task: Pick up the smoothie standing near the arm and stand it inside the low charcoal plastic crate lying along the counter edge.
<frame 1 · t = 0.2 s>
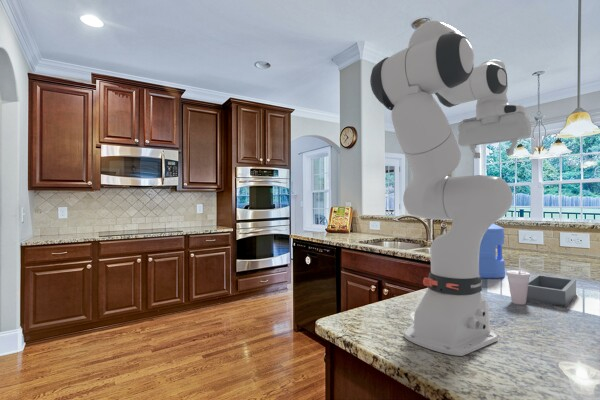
hand: (492, 156, 101), 47 cm above the countertop, fingers open, 8 cm apart
water jug: (484, 275, 138), on the countertop
crate: (549, 297, 105), on the countertop
smoothie: (518, 303, 100), on the countertop
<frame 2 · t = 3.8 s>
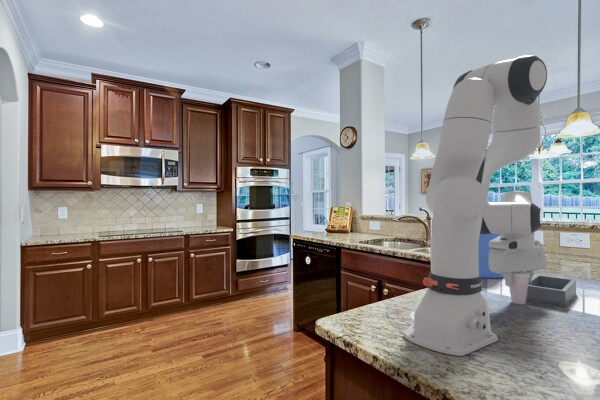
hand: (518, 285, 100), 6 cm above the countertop, fingers closed on smoothie, 6 cm apart
smoothie: (518, 303, 100), on the countertop, touching gripper
everything else where it was.
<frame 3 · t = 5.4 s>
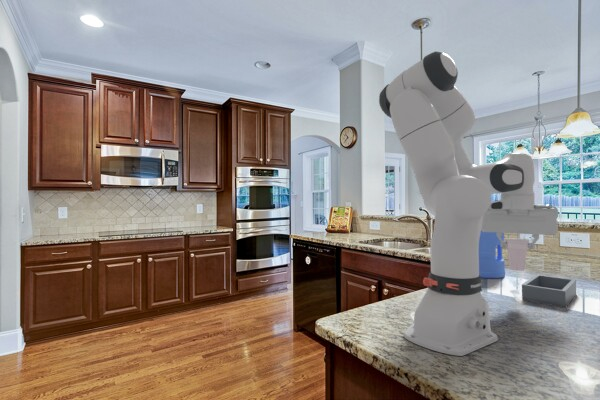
hand: (517, 247, 100), 18 cm above the countertop, fingers closed on smoothie, 6 cm apart
smoothie: (516, 270, 99), point 10 cm above the countertop, touching gripper
everything else where it was.
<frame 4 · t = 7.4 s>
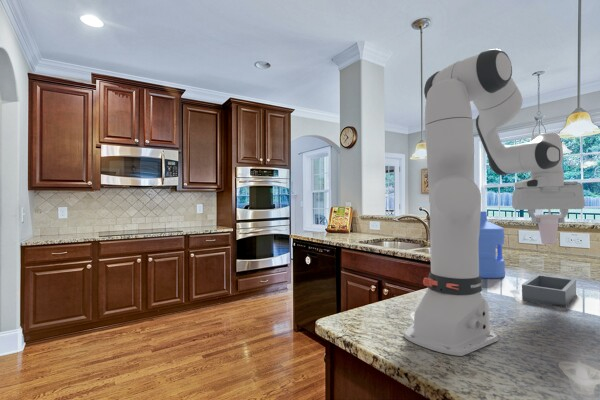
hand: (547, 223, 105), 25 cm above the countertop, fingers closed on smoothie, 6 cm apart
smoothie: (548, 244, 105), point 18 cm above the countertop, touching gripper
everything else where it was.
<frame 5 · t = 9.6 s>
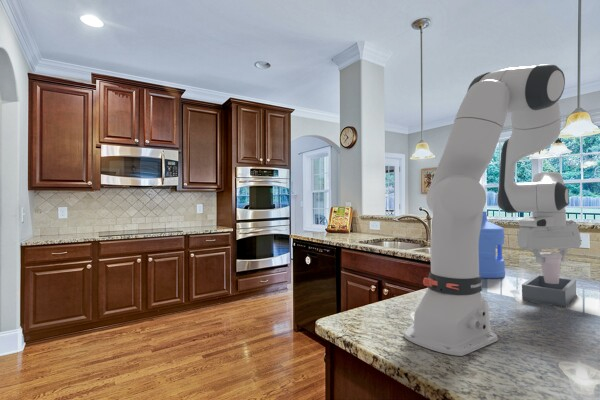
hand: (550, 261, 105), 12 cm above the countertop, fingers closed on smoothie, 6 cm apart
smoothie: (551, 283, 104), point 5 cm above the countertop, touching gripper
everything else where it was.
when the fingers open (7 cm above the countertop, at t = 11.2 s): smoothie stays where it is, resting on crate.
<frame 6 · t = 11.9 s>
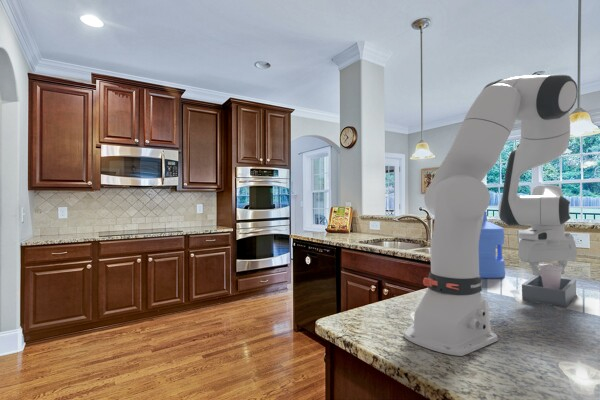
hand: (548, 274, 105), 8 cm above the countertop, fingers open, 8 cm apart
smoothie: (551, 295, 104), point 1 cm above the countertop, touching crate
everything else where it was.
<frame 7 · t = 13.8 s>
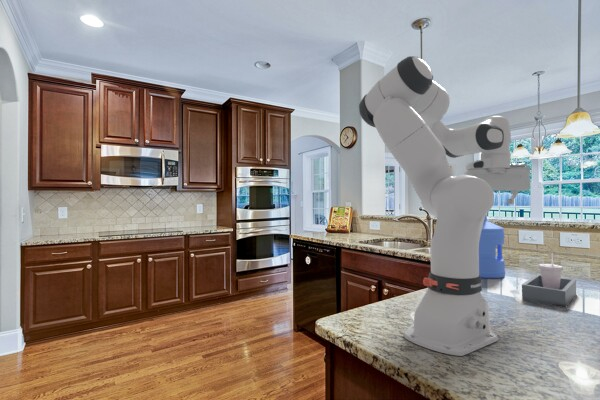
hand: (494, 203, 108), 32 cm above the countertop, fingers open, 8 cm apart
nothing on the countertop moved.
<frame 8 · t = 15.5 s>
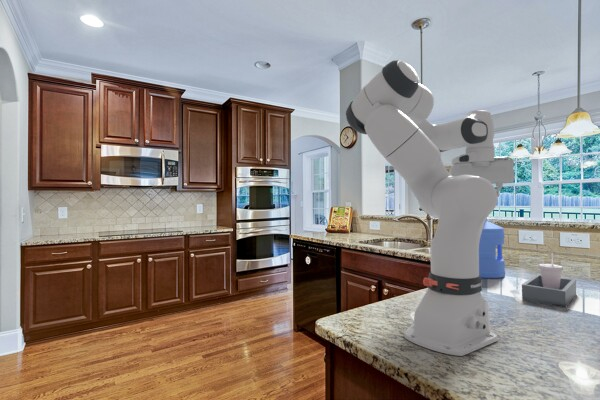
hand: (480, 197, 110), 34 cm above the countertop, fingers open, 8 cm apart
nothing on the countertop moved.
at the end: smoothie inside the target area on the crate (0.5 cm from its centre), point 0.8 cm above the crate's base; smoothie tilted 0°; the gripper is holding nothing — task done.
